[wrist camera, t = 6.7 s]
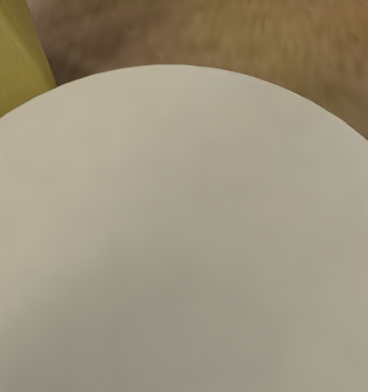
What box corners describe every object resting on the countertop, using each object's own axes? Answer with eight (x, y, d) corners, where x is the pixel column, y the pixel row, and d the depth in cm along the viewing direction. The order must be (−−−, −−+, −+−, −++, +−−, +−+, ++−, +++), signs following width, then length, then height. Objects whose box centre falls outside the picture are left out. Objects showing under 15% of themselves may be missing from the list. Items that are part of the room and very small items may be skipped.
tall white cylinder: (268, 331, 14) (751, 772, 1) (156, 359, 14) (-261, 992, 2) (234, 221, 16) (324, 9, 3) (136, 246, 16) (-132, 132, 3)
